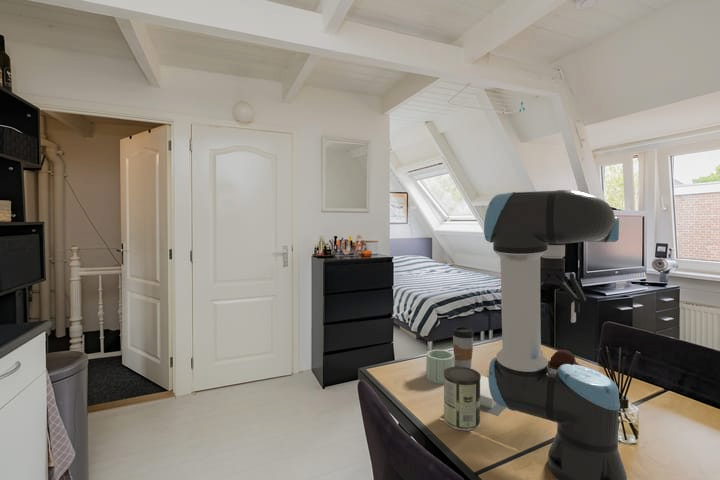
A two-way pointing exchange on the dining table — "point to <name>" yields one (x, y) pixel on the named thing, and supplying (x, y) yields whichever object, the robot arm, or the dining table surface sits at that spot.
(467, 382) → the coffee can
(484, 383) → the lid
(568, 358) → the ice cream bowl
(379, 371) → the dining table surface
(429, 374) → the ribbed green pot
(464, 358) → the coffee cup
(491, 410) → the mat
